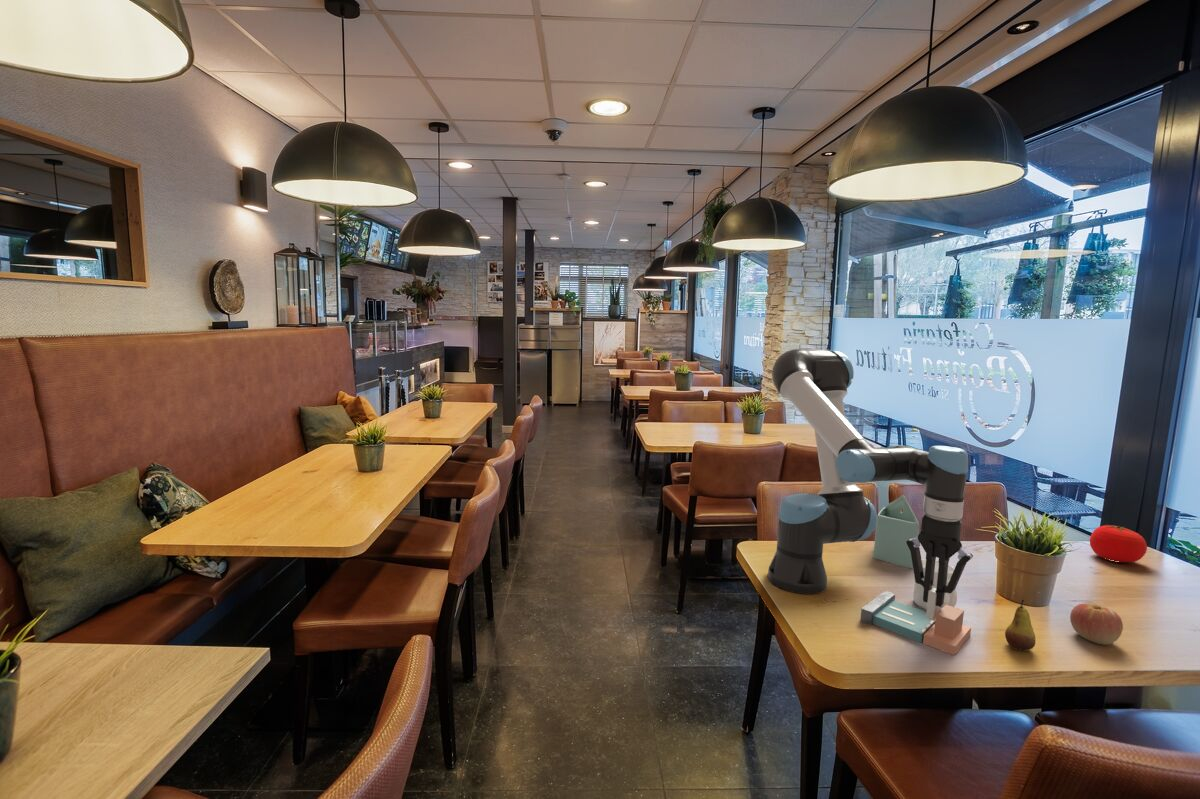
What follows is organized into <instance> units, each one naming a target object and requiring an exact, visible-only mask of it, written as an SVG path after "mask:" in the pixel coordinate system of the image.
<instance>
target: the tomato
mask: <svg viewBox="0 0 1200 799" xmlns="http://www.w3.org/2000/svg"><path fill="white" fill-rule="evenodd" d="M1089 536H1090V537H1089V546H1090V547H1091V549H1092V551H1093V552H1094V554H1096V555H1097V556H1098V557H1100V556H1101V557H1100V558H1102V557H1103V558H1102V559H1104V558H1106V559H1110V560H1114V561H1119V562H1130V563H1135V562H1138V561H1139V560H1141V559H1143V557H1144V556H1145V554H1146V553H1147V550H1148V545H1147V542H1146V540H1145V538H1144V536H1142V535H1141V534H1139V533H1138V532H1136V531H1133V530H1131V529H1128V528H1125V526H1120V525H1110V524H1106V523H1105V525H1101V526H1098V527H1096V528H1095V529H1094V530H1093V531H1092V533H1091V535H1089ZM1106 559H1105V560H1106Z"/></svg>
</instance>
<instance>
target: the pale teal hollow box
mask: <svg viewBox="0 0 1200 799" xmlns="http://www.w3.org/2000/svg"><path fill="white" fill-rule="evenodd" d="M919 534H920V523H919V521H918V519H917V517H916V515H915V512H914V511H913V509H912V507H911V506H910V504H909V502H908V500H907V498H906V496H905V494H901V495H899V497H898V498H896V499H893V501H891V502H889V503H888V504H886V505H884V506H883V507H882V509H881V510H880V511H878V514H877V522H876V527H875V535H874V543H873V544H874V545H873V555H872V558H873V559H877V560H879V561H882V562H886V563H889V564H893V565H898V566H901V567H904V568H908V569H912V570H913V564H912V558H911V552H910V549H909V547H908V545H907V543H906V541H908V540H909V539H911V538H917V537H918V535H919Z"/></svg>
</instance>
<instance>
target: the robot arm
mask: <svg viewBox="0 0 1200 799" xmlns="http://www.w3.org/2000/svg"><path fill="white" fill-rule="evenodd" d="M771 370H772V371H771V376H772V378H771V379H772V382H773V384H774V385H773V386H774V387H775V389H776V390H777V391H778V393H779V394H780V396H781V397H782V398H783V399H785V400H789V401H790V402H791V404H793V406H795V408H797V410H798V411H799V412H800V414H801V415H802V416H803V418H805V420H806V421H807V422H808V424H810V426H811V427H812V428H813V430H814V435H815V436H814V437H815V442H816V449H817V456H818V463H819V470H820V477H821V478H820V479H821V485H822V487H821V488H820V490H819V491H818V492H817V494H815V493H804V492H802V493H794V494H790V495H787V496H785V497H784V498H783V499H782V500H781V502H780V505H779V511H778V527H777V536H776V537H777V539H776V550H775V552H774V554H773V558H772V560H771V562H770V564H769V566H768V570H767V579H768V581H769V582H770V583H771V584H773V585H774V586H776V587H777V588H779V589H781V590H784V591H787V592H791V593H795V594H801V595H802V594H804V595H813V594H820V593H822V592H825V591H826V589H827V587H828V576H827V572H826V568H825V564H824V560H823V552H824V551H823V550H824V545H827V544H835V543H847V542H849V543H854V542H857V541H863V540H866V539H868V538H869V537H870V536H871V535H872V533H873V532H874V531H875V530H876V523H877V515H878V514H877V511H876V508H875V505H874V504H872V501H871V500H870V499H868V498H866V497H864V490H863V489H862V488H861V487H859V486H858V485H857V484H856V483H863V484H864V483H865V484H866V483H870V482H871V483H872V482H873V483H874V482H887V481H889V482H891V481H911V482H914V483H917V484H920V485H924V495H923V506H922V507H923V508H922V512H923V514H922V516H921V526H920V527H921V528H920V531H919V533H918V537H917V538H911V539H909V540H908V541H906V543H907V545H908V547H909V549H910V552H911V558H912V564H913V569H912V571H913V576H914V583H915V582H916V583H917V584H920V585H922V586H923V587H924V593H923V601H924V602H927V610H926V611H925V612H926V618H927V619H930V620H934V619H935V618H936V614H937V613H938V606H939V607H941V606H942V605H943V603H944V595H945V593H952V592H953V591H954V590H955V588H956V589H957V586H958V584H959V582H960V579H961V576H962V574H963V572H964V570H965V567H966V565H967V563H968V562H969V561H971V560H972V559H973V557H974V556H973V554H972V553H971V552H967V551H966V550H965V549H964V548H963V544H962V542H961V532H962V525H963V524H962V520H961V519H962V518H963V514H964V505H965V504H964V503H965V491H966V484H967V478H968V472H969V468H968V467H969V454H968V452H967V451H966V450H965V449H963V448H959V447H957V446H956V447H955V446H949V445H948V446H947V445H932V446H930V447H929V449H928V451H926V450H922V449H918V448H914V447H911V446H908V445H903V444H902V445H900V444H890V445H888V446H887V447H885V448H883V447H882V448H874V447H873V446H872V445H871V444H870V443H869V442H868V441H867V440H866V439H865V438H864V437H863V436H862V434H861V433H860V432H859V431H858V430H857V429H856V428H855V427H854V426H853V424H851V422H850V421H849V420H848V418H846V413H845V406H844V399H845V397H846V396H847V395H848V388H849V387H850V386H851V385H852V383H853V379H854V375H855V372H854V367H853V363H852V362H851V360H850V358H849V357H848V356H847V355H846V354H844V353H843V352H841V351H839V350H838V351H837V350H831V349H826V348H825V349H801V348H795V349H789V350H787V351H785V352H784V353H782V354H781V355H779V356H778V357H777V359H776V361H775V362H774V364H773V366H772V369H771ZM920 546H921V547H922V549H923V550H924V552H925V560H926V567H925V576H924V572H923V566H922V560H923V559H922V555H921V549H920ZM955 554H958V555H957V559H958V561H957V562H956V565H955V567H954V571H953V574H952V576H951V578H950V581H949V583H948V585H947V586H946V582H947V572H948V565H949V562H950V559H951V558H952V557H953V556H954V555H955ZM936 559H938V561H939V568H938V578H937V588H934V587H932V586H933V585H934V584H933V580H934V570H935V561H937V560H936Z"/></svg>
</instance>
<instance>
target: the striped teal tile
mask: <svg viewBox="0 0 1200 799" xmlns="http://www.w3.org/2000/svg"><path fill="white" fill-rule="evenodd" d="M926 612H927V611H926V610H923V609H920V608H917V607H913V606H910V605H908V604H905V603H902V602H900V601H897V600H895V601H894V600H893V601H891V602H890V603H889V604H888V605H886V606H885V607H884V608H883V609H881V610H880V611H879V612H878V613H876V614H875V615H874V616H873V624H872V625H875V626H878V627H880V628H883V629H885V630H888V631H891V632H893V633H895V634H898V635H900V636H904V637H906V638H909V639H912V640H914V641H916V642H919V643H923V640H924V634H925V633H926V632H927V631H928V630H929V629H930V628H931V627H932V626H933V625H934V624H935V619H936V618H935V619H934V620H930V619H927V618H926Z"/></svg>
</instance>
